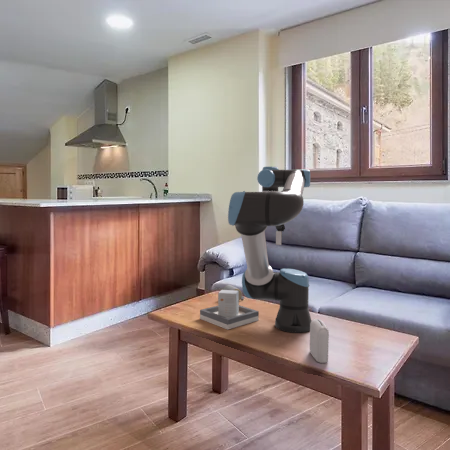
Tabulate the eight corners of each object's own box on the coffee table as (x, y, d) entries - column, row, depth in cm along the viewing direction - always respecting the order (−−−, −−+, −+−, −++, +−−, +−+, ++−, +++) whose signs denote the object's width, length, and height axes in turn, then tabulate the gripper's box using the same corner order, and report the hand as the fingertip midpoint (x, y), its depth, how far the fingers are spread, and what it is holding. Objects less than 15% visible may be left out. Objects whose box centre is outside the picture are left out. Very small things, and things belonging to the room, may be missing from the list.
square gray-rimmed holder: (258, 320, 166) (258, 311, 165) (227, 329, 154) (227, 319, 153) (230, 310, 179) (230, 302, 179) (200, 318, 167) (200, 309, 167)
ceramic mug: (231, 303, 191) (231, 288, 191) (221, 300, 198) (222, 285, 197) (247, 300, 198) (248, 286, 197) (237, 297, 204) (238, 283, 204)
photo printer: (308, 350, 133) (308, 315, 132) (320, 350, 133) (321, 315, 132) (316, 363, 123) (317, 325, 122) (329, 363, 123) (330, 325, 122)
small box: (238, 314, 167) (239, 290, 167) (236, 318, 162) (236, 293, 161) (221, 312, 169) (221, 289, 169) (217, 316, 164) (218, 292, 163)
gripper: (280, 200, 188) (279, 243, 190) (245, 200, 171) (245, 247, 173) (292, 200, 183) (292, 244, 185) (258, 200, 166) (257, 249, 167)
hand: (269, 246), depth 179 cm, fingers open, 13 cm apart
